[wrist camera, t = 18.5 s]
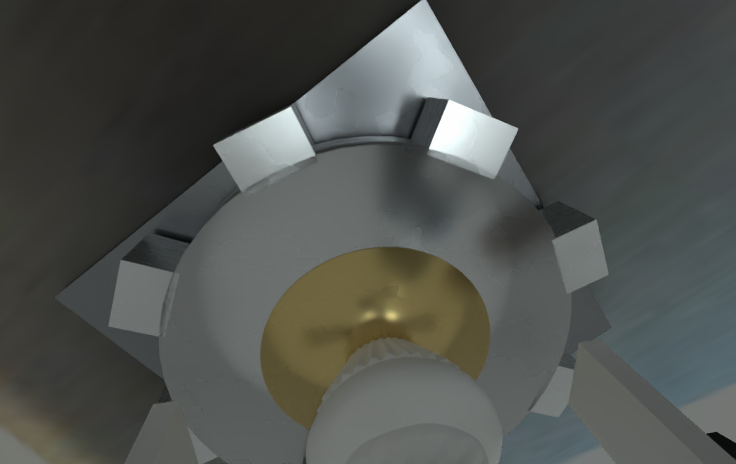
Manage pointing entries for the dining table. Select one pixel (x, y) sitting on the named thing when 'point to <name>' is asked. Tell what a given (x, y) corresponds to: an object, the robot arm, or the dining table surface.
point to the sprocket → (357, 278)
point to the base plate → (324, 123)
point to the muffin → (403, 411)
